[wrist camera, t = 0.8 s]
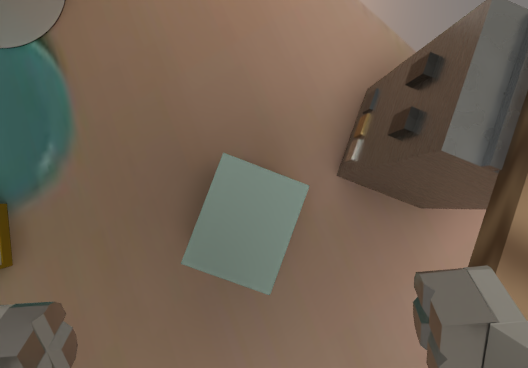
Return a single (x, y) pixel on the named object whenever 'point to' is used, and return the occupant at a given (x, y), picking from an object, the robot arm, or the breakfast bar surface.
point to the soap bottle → (5, 238)
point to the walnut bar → (509, 220)
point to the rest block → (245, 224)
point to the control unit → (445, 114)
